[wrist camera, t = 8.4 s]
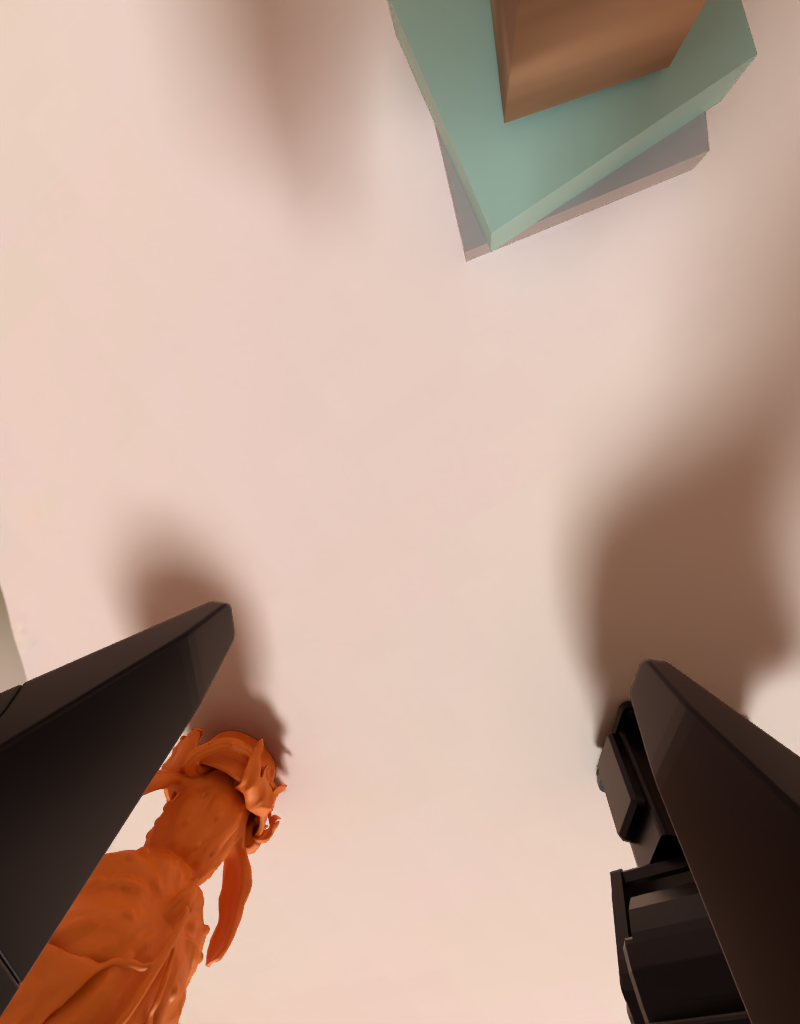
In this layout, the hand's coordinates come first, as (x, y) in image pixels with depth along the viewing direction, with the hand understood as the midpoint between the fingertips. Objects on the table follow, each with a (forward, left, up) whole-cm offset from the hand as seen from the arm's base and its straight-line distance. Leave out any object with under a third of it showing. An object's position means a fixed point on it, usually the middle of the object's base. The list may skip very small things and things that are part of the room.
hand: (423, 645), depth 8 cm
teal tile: (-1, -17, -12) cm, 21 cm away
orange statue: (+14, +24, -13) cm, 31 cm away
